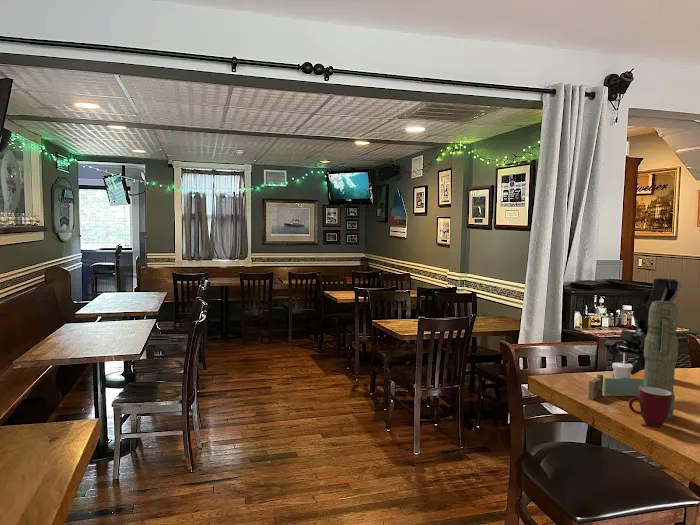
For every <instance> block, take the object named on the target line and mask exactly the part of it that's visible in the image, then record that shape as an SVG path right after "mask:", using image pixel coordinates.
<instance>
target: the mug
mask: <svg viewBox="0 0 700 525" xmlns="http://www.w3.org/2000/svg"><path fill="white" fill-rule="evenodd" d="M636 401H638V402H639V409H640V411H638V410H637V409H634V406H633V404H634V402H636ZM671 402H672V393H671V392H669V391H667V390H664V389H660V388H655V387H641V388H640V391H639V396H631V398H630V399H629V401H628V408H629V410H630V411H631V412H632V413H634V414H636V415H640V416H641V417H642V420H643V422H644V423H645V424H646V425H647V426H650V427H652V428H653V427H654V428H660V427H662V426H663V425H664V424H665V422H666V421H667V420H668V419H667V417H668V413H669V410H670V406H671Z"/></svg>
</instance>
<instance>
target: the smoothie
mask: <svg viewBox="0 0 700 525" xmlns="http://www.w3.org/2000/svg"><path fill="white" fill-rule="evenodd" d="M622 354H623V356H622V358H623V359H622V362H621V361H620V362H616V363H613V364H612V367H613V369H612V370H613V375H614V378H630V379H632V378H631V377H632V374H631V371H632V369H633V367H634V365H633V364H631V363H627V362H626V353H624V352H622Z"/></svg>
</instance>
